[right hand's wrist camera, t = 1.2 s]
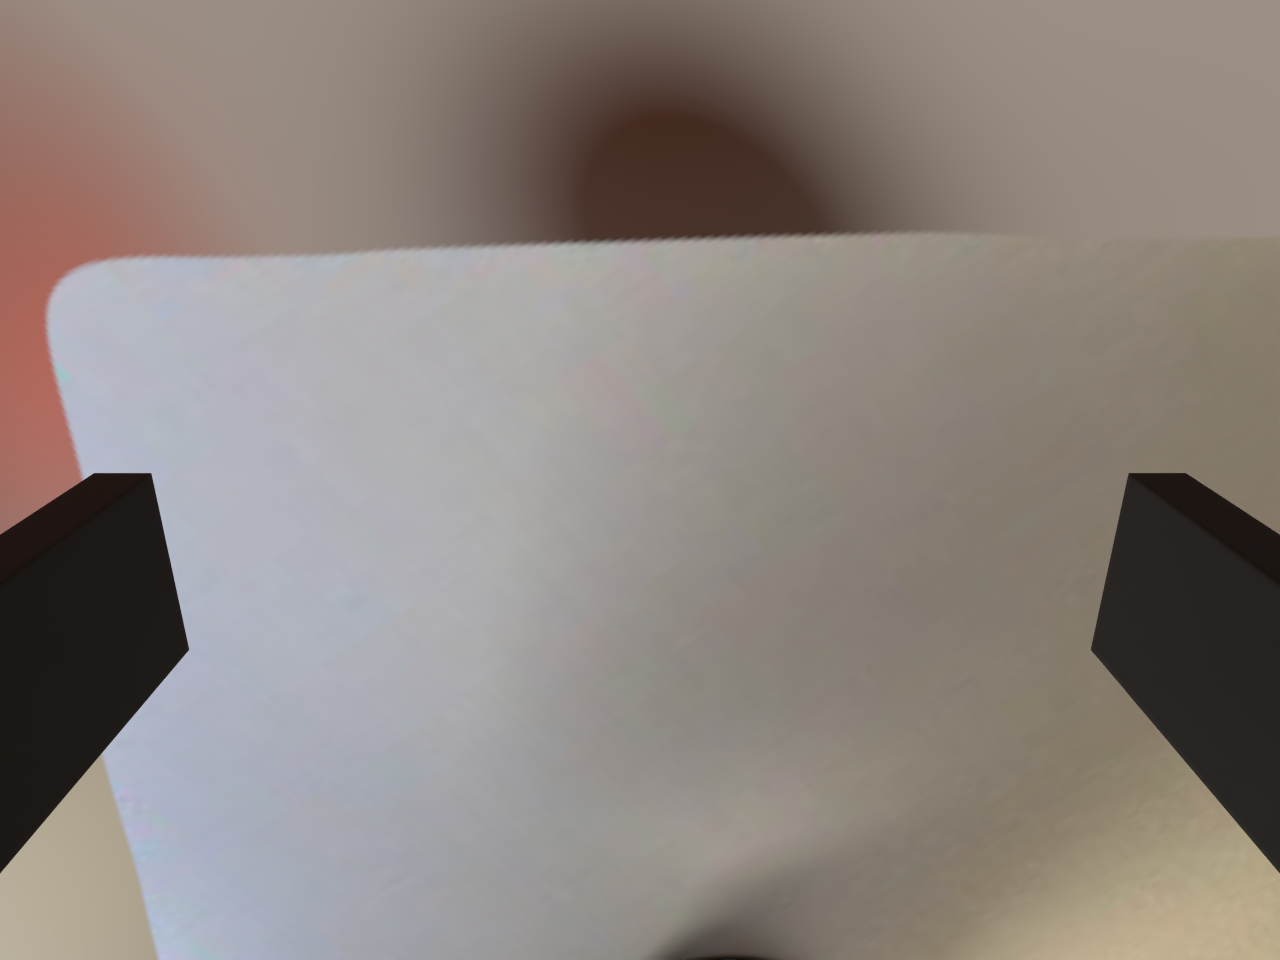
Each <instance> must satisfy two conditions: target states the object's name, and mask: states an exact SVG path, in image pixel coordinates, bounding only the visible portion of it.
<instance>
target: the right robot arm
mask: <svg viewBox="0 0 1280 960" xmlns="http://www.w3.org/2000/svg"><path fill="white" fill-rule="evenodd" d="M188 650H189V647H188V642H187V637H186V633H185V628H184V623H183V619H182V614H181V610H180V605H179V600H178V596H177V591H176V586H175V582H174V577H173V572H172V568H171V563H170V558H169V554H168V549H167V544H166V540H165V535H164V530H163V526H162V521H161V516H160V512H159V507H158V502H157V498H156V493H155V488H154V484H153V479H152V474H151V473H94V474H92V475H91V476H89V477H88V478H86V479H85V480H83V481H82V482H80V483H79V484H77V485H76V486H74V487H73V488H71V489H69V490H68V491H66V492H65V493H63V494H62V495H60V496H59V497H57V498H56V499H54V500H53V501H51V502H50V503H48V504H47V505H45V506H44V507H42V508H40V509H39V510H37V511H36V512H34V513H33V514H31V515H30V516H28V517H27V518H25V519H24V520H22V521H21V522H19V523H17V524H16V525H15V526H13V527H11V528H10V529H8V530H7V531H5V532H4V533H2V534H1V535H0V873H1V872H2V870H3V869H4V868H5V867H6V866H7V865H8V863H9V862H10V861H11V860H12V859H13V857H14V856H15V855H16V854H17V853H18V851H19V850H20V849H21V848H22V847H23V846H24V844H25V843H26V842H27V841H28V840H29V839H30V837H31V836H32V835H33V834H34V833H35V831H36V830H37V829H38V828H39V827H40V826H41V824H42V823H43V822H44V821H45V819H46V818H47V817H48V816H49V815H50V814H51V812H52V811H53V810H54V809H55V808H56V807H57V805H58V804H59V803H60V802H61V801H62V799H63V798H64V797H65V796H66V795H67V793H68V792H69V791H70V790H71V789H72V788H73V786H74V785H75V784H76V783H77V782H78V780H79V779H80V778H81V777H82V776H83V775H84V773H85V772H86V771H87V770H88V769H89V768H90V766H91V765H92V764H93V763H94V762H95V760H96V759H97V758H98V757H99V756H100V755H101V753H102V752H103V751H104V750H105V749H106V747H107V746H108V745H109V744H110V743H111V741H112V740H113V739H114V738H115V737H116V736H117V734H118V733H119V732H120V731H121V730H122V728H123V727H124V726H125V725H126V724H127V723H128V721H129V720H130V719H131V718H132V717H133V715H134V714H135V713H136V712H137V711H138V710H139V708H140V707H141V706H142V705H143V704H144V702H145V701H146V700H147V699H148V698H149V697H150V695H151V694H152V693H153V692H154V691H155V689H156V688H157V687H158V686H159V685H160V684H161V682H162V681H163V680H164V679H165V678H166V676H167V675H168V674H169V673H170V672H171V670H172V669H173V668H174V667H175V666H176V665H177V663H178V662H179V661H180V660H181V659H182V657H183V656H184V655H185V654H186V653H187V652H188ZM1091 650H1092V652H1093V653H1094V654H1095V655H1096V656H1097V657H1098V659H1099V660H1100V661H1101V662H1102V663H1103V665H1104V666H1105V667H1106V668H1107V669H1108V671H1109V672H1110V673H1111V674H1112V675H1113V676H1114V678H1115V679H1116V680H1117V681H1118V682H1119V684H1120V685H1121V686H1122V687H1123V688H1124V689H1125V691H1126V692H1127V693H1128V694H1129V695H1130V697H1131V698H1132V699H1133V700H1134V701H1135V702H1136V704H1137V705H1138V706H1139V707H1140V708H1141V710H1142V711H1143V712H1144V713H1145V714H1146V715H1147V717H1148V718H1149V719H1150V720H1151V721H1152V723H1153V724H1154V725H1155V726H1156V727H1157V728H1158V730H1159V731H1160V732H1161V733H1162V734H1163V736H1164V737H1165V738H1166V739H1167V740H1168V742H1169V743H1170V744H1171V745H1172V746H1173V747H1174V749H1175V750H1176V751H1177V752H1178V753H1179V755H1180V756H1181V757H1182V758H1183V759H1184V760H1185V762H1186V763H1187V764H1188V765H1189V766H1190V768H1191V769H1192V770H1193V771H1194V772H1195V773H1196V775H1197V776H1198V777H1199V778H1200V779H1201V781H1202V782H1203V783H1204V784H1205V785H1206V786H1207V788H1208V789H1209V790H1210V791H1211V792H1212V794H1213V795H1214V796H1215V797H1216V798H1217V799H1218V801H1219V802H1220V803H1221V804H1222V805H1223V807H1224V808H1225V809H1226V810H1227V811H1228V813H1229V814H1230V815H1231V816H1232V817H1233V818H1234V820H1235V821H1236V822H1237V823H1238V824H1239V826H1240V827H1241V828H1242V829H1243V830H1244V831H1245V833H1246V834H1247V835H1248V836H1249V837H1250V839H1251V840H1252V841H1253V842H1254V843H1255V844H1256V846H1257V847H1258V848H1259V849H1260V850H1261V852H1262V853H1263V854H1264V855H1265V856H1266V857H1267V859H1268V860H1269V861H1270V862H1271V863H1272V865H1273V866H1274V867H1275V868H1276V869H1277V870H1278V872H1279V873H1280V535H1279V534H1278V533H1276V532H1275V531H1273V530H1272V529H1270V528H1269V527H1267V526H1266V525H1264V524H1263V523H1261V522H1259V521H1258V520H1256V519H1255V518H1253V517H1252V516H1250V515H1249V514H1247V513H1246V512H1244V511H1243V510H1241V509H1240V508H1238V507H1237V506H1235V505H1233V504H1232V503H1230V502H1229V501H1227V500H1226V499H1224V498H1223V497H1221V496H1220V495H1218V494H1217V493H1215V492H1214V491H1212V490H1211V489H1209V488H1208V487H1206V486H1204V485H1203V484H1201V483H1200V482H1198V481H1197V480H1195V479H1194V478H1192V477H1191V476H1189V475H1188V474H1186V473H1129V474H1128V479H1127V484H1126V488H1125V493H1124V498H1123V502H1122V507H1121V512H1120V516H1119V521H1118V526H1117V530H1116V535H1115V540H1114V544H1113V549H1112V554H1111V558H1110V563H1109V568H1108V572H1107V577H1106V582H1105V586H1104V591H1103V596H1102V600H1101V605H1100V610H1099V614H1098V619H1097V623H1096V628H1095V633H1094V637H1093V642H1092V647H1091ZM728 960H734V959H728Z"/></svg>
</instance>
